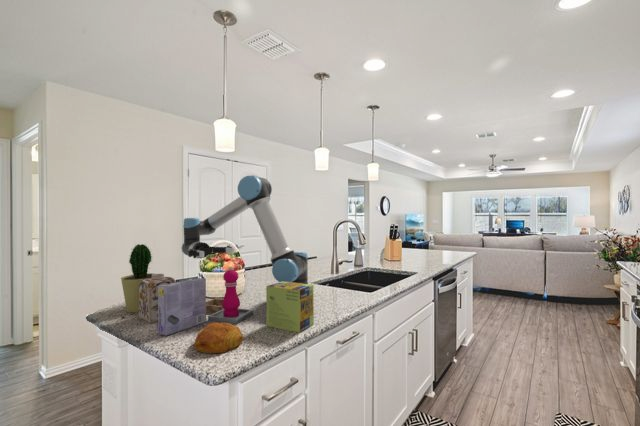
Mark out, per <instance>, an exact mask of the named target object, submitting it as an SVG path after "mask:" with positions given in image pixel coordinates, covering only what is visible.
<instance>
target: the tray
mask: <svg viewBox="0 0 640 426" xmlns="http://www.w3.org/2000/svg"><path fill="white" fill-rule="evenodd" d="M238 310H239V315H237V316H234V317H225V316H223V311H224V309H222V310H220V311H218V312H216V313H211V314H210V315H207V321H208V322H210V323H213V322H218V323H219V322H221V323H230V324H232V325H238V324H240V323H241V322H243V321H245V320H247V319H248V318H249V317H252V316H253V315H254V310H253V309H248V308H240V307H239V308H238Z"/></svg>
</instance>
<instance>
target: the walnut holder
mask: <svg viewBox="0 0 640 426" xmlns="http://www.w3.org/2000/svg"><path fill="white" fill-rule="evenodd" d="M223 299H224V298H217V297H216V298H213V299H210V300H206V313H210V312H211V313H210V314H214V313H216V312H218V311H220V310H222V309H223V307H222V302H223ZM217 305H218V306H217Z"/></svg>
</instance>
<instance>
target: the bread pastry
mask: <svg viewBox="0 0 640 426" xmlns="http://www.w3.org/2000/svg"><path fill="white" fill-rule="evenodd" d="M196 335H197V336H196V338H195V341H194V343H193V347H194V349H195V350H196V351H197V352H200V353H204V354H218V353H224V354H225V353H227V352H228V351H229V350H234V349H235V348H236V347H238V346H240V345H241V344H242V343H243V339H244V336H243V333H242V331H241V329H240V328H239V326H236V325H235V324H230V323H221V322H220V323H219V322H210V323H209V324H207V325H206V326H205V327H204V328H202V329H200V331H199V332H198V333H197V334H196Z"/></svg>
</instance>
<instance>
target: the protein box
mask: <svg viewBox="0 0 640 426" xmlns="http://www.w3.org/2000/svg"><path fill="white" fill-rule="evenodd" d="M265 287H266V292H265V293H266V299H265V301H266V309H265V310H266V313H265V314H266V327H269V328H274V329H280V330H282V331H283V330H284V331H290V332H295V333H299V334H300V333H302V332H303V331H305V330H307V329H308V328H310V327H311V326H314V324H315V323H314V320H315V319H314V318H315V317H314V316H315V315H314V312H315V311H314V308H315V307H314V306H315V305H314V284H310V283H308V284H302V283H292V282H283V281H282V282H276V283H272V284H269V285H266V286H265Z"/></svg>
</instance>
